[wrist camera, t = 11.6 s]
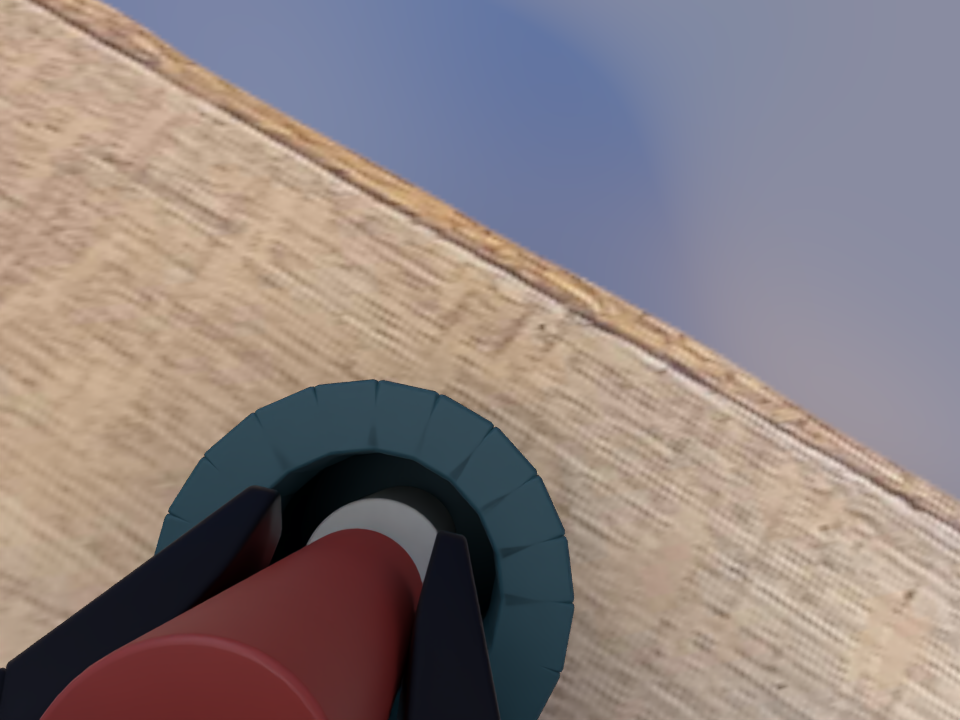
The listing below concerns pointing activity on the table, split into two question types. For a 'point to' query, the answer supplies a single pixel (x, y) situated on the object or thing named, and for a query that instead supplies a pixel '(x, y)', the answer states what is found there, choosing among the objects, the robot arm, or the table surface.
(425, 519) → the red cylindrical rod
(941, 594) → the table surface
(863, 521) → the table surface
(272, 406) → the teal hollow cylinder
